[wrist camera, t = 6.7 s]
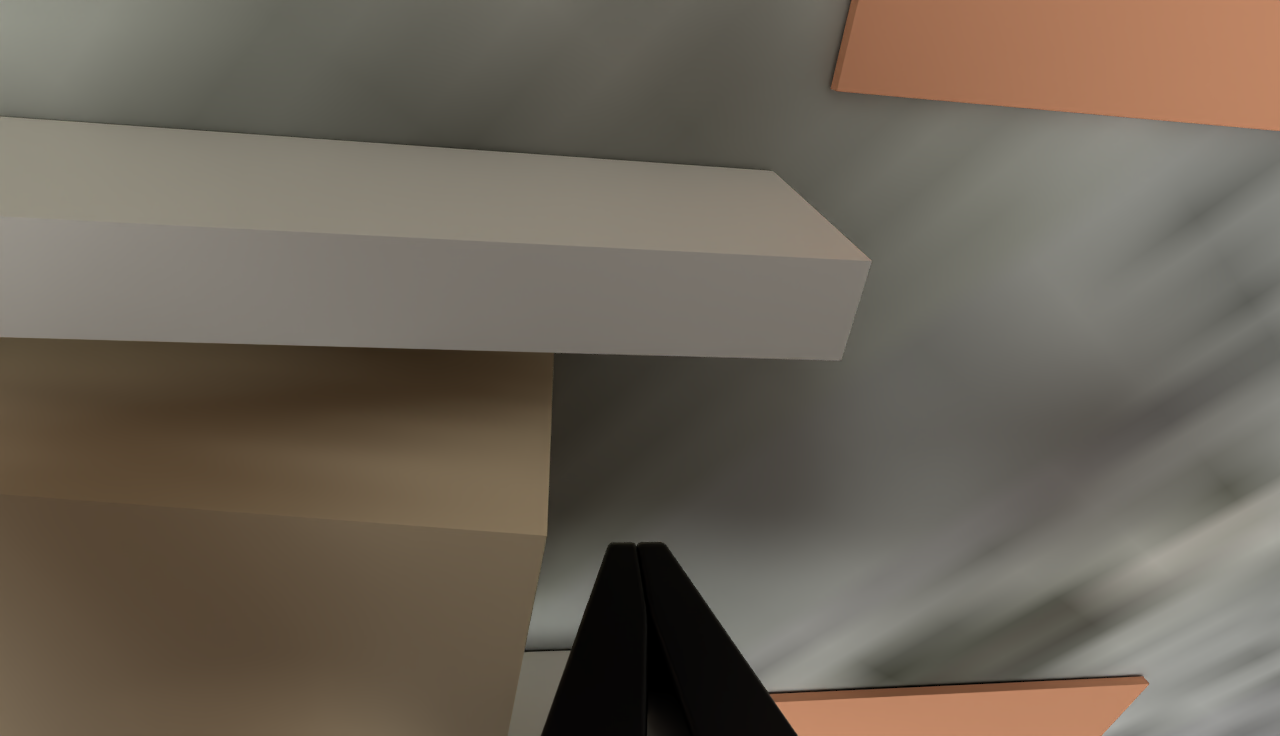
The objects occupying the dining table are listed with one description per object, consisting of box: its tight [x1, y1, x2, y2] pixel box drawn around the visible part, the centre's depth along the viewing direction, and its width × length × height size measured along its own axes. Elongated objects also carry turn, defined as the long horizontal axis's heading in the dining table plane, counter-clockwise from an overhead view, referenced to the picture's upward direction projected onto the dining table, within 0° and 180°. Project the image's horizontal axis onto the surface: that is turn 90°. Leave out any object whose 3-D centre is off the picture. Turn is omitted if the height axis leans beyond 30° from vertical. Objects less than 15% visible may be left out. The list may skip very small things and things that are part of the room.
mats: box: [770, 0, 1280, 736], centre depth 11 cm, size 12×29×1 cm, turn 175°
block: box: [0, 337, 554, 736], centre depth 8 cm, size 6×6×4 cm
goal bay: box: [0, 116, 872, 736], centre depth 9 cm, size 12×11×3 cm
